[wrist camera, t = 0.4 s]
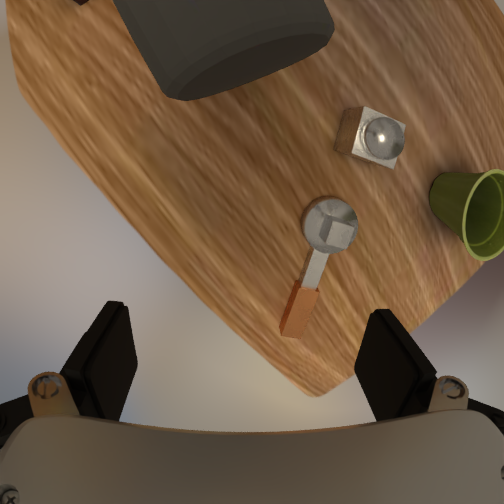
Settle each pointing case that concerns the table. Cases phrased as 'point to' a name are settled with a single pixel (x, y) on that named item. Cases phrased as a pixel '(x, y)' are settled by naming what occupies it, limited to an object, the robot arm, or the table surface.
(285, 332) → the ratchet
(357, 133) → the socket
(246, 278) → the table surface
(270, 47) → the rubber mallet
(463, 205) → the plant pot
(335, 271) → the table surface
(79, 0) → the protein box
